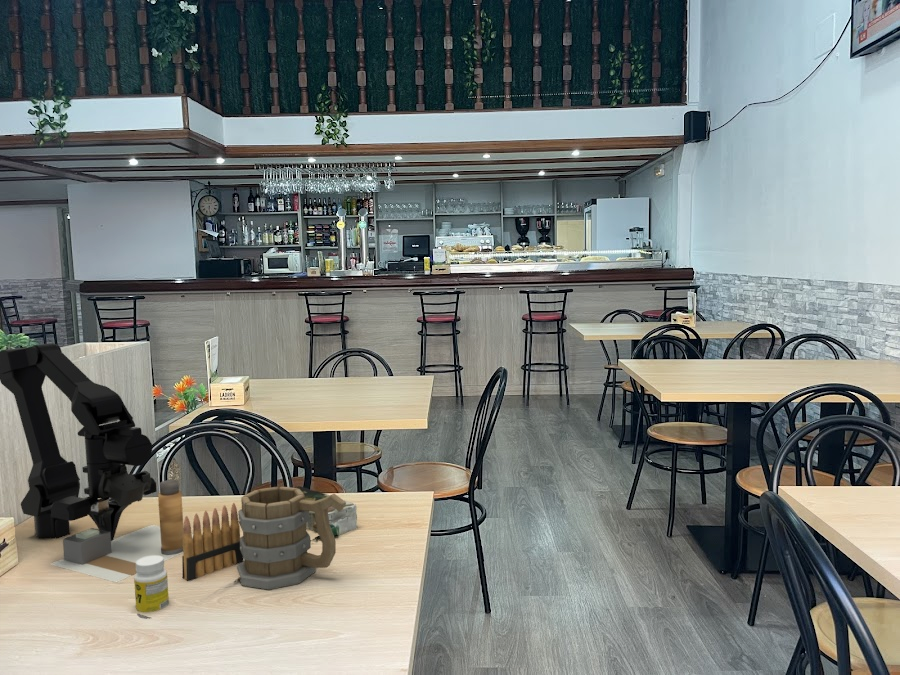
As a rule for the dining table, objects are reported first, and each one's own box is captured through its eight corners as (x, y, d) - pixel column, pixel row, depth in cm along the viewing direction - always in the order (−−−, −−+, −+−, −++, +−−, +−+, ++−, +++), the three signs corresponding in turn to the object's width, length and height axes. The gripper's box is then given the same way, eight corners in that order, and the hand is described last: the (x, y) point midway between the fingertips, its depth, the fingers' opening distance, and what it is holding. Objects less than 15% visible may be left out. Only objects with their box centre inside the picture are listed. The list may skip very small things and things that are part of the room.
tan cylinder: (156, 552, 133) (151, 484, 132) (174, 544, 137) (170, 478, 135) (172, 556, 131) (167, 486, 130) (190, 548, 135) (186, 480, 133)
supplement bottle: (134, 609, 113) (131, 557, 112) (166, 602, 115) (163, 551, 114) (138, 622, 109) (134, 568, 108) (171, 614, 111) (168, 561, 110)
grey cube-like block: (64, 560, 130) (62, 535, 130) (93, 548, 136) (92, 524, 135) (82, 564, 128) (80, 539, 128) (111, 552, 133) (110, 528, 133)
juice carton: (363, 529, 147) (361, 500, 146) (325, 544, 139) (323, 513, 139) (302, 510, 160) (300, 483, 159) (264, 523, 153) (263, 495, 152)
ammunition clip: (187, 588, 120) (183, 518, 119) (182, 585, 122) (178, 516, 120) (244, 568, 128) (241, 502, 127) (238, 565, 129) (235, 500, 128)
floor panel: (49, 570, 129) (49, 564, 129) (152, 530, 148) (151, 524, 148) (116, 589, 120) (116, 582, 120) (215, 544, 140) (215, 538, 140)
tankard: (223, 583, 122) (218, 497, 121) (267, 555, 134) (263, 476, 132) (326, 600, 115) (322, 508, 113) (363, 569, 127) (360, 485, 125)
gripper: (86, 478, 123) (93, 566, 124) (174, 452, 139) (179, 530, 141) (45, 471, 128) (52, 556, 129) (134, 447, 144) (139, 522, 146)
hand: (109, 540), depth 136 cm, fingers closed
